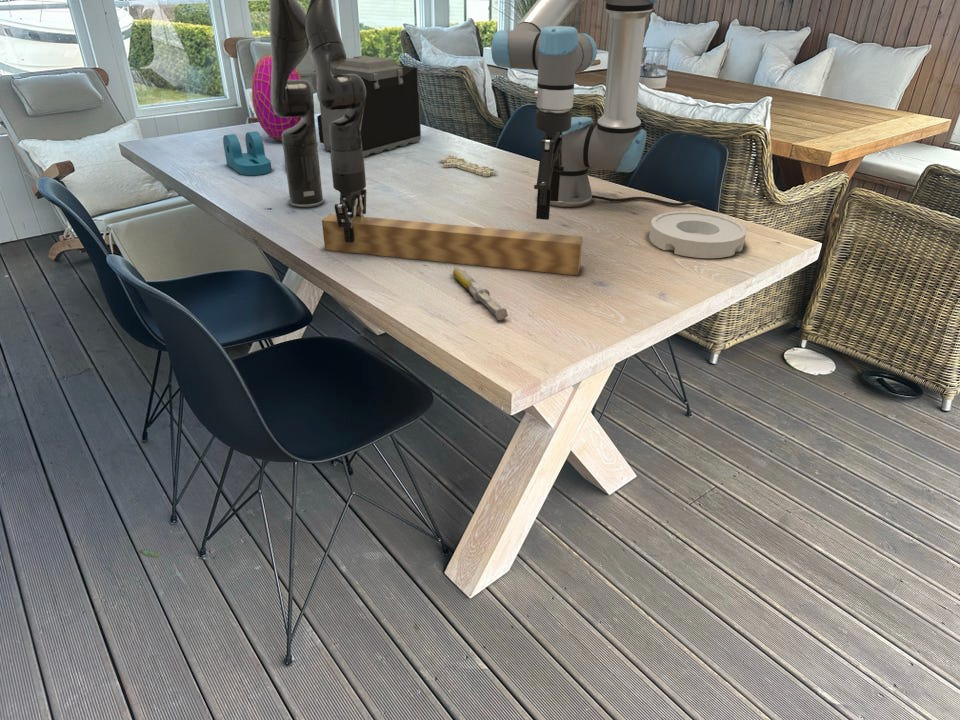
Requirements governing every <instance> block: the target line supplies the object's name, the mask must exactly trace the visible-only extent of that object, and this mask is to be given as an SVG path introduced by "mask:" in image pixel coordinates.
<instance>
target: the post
mask: <svg viewBox="0 0 960 720" xmlns="http://www.w3.org/2000/svg"><path fill="white" fill-rule="evenodd" d="M341 220H342V219H341ZM349 222H350V218H349ZM321 225H322V226H321V227H322V236H323V245H324V250H325V251H330V252H331V251H332V252H342V253H352V254H360V255H361V254H362V255H372V256H380V257H381V256H382V257H392V258H401V259H412V260H419V261H420V260H422V261H431V262H440V263H451V264H461V265H471V266H480V267H489V268H500V269H508V270H509V269H510V270H519V271H530V272H541V273H549V274H559V275H569V276H579V272H580V270H581V263H582V252H583V241H584V237H583V235H582V236H580V235H570V234H560V233H559V234H558V233H547V232H538V231H525V230H516V229H515V230H514V229H505V228H504V229H503V228H492V227H481V226H471V225H459V224H458V225H457V224H447V223H439V222H438V223H436V222H425V221H416V220H415V221H414V220H401V219H392V218H382V217H381V218H380V217H370V216H369V217H368V216H364V217H360V216H356V217H355V218H354V220H353V228H354V242H353V243H348V242H345V237H344V228H343V227H339V226H338V222H337V217H336V213H329V214H328V215H326V216H325V217H324V218H323V219H321Z"/></svg>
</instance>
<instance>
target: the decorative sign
mask: <svg viewBox="0 0 960 720" xmlns="http://www.w3.org/2000/svg"><path fill="white" fill-rule="evenodd" d="M440 163H443V167H444V168H451V167H452V168H457V169H461V170H464V171H467V172H470V173H475V174H476V175H480V176H483V177H491V176H496V171H495V168H494V167H489V166H487V165H484V166H483V165H481V166H479V164H478V163H473V162H465V158H464V157H459V158H458V156H457V155H451V154H449V155H448V157H442V158H441V159H440Z"/></svg>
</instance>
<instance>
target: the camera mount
mask: <svg viewBox="0 0 960 720" xmlns="http://www.w3.org/2000/svg"><path fill="white" fill-rule="evenodd" d="M222 140H223V141H222V143H223V149H224V150H223V151H224V156H225V161H226V165H227V166H228V167H230V168H231V169H232V170H234V171H236V172H237V173H238V174H239V175H244V176H260V175H265V174H268V173H271V172H272V164H271V159H270V158H268V157H267V156H266V153H265V145H264V141H263V139H262V136H261V134H260V132H258V131H247V132H246V133H245V146H246V152H243V151H242V150H243V149H242V146H241V142H240V140H239V138H238V135H236V134H235V133H231V134H224V135H223V138H222Z"/></svg>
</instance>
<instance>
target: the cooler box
mask: <svg viewBox="0 0 960 720" xmlns="http://www.w3.org/2000/svg"><path fill="white" fill-rule="evenodd" d="M331 73H332V75H343V74H356V75H358V76H359V77H360V78H361V79H362V80H363V82H364V84H365V87H366V102H365V107H364V112H363V118H362V124H361V140H362V150H363V155H364V158H366V157H367V158H368V157H369V155H371V154H375V155H377V154H381V153H382V152H383V151H391V150H395V149H396V148H397V147H405V146H407V145H408V144H416V143H418V142H419V141H421V137H422V128H421V97H420V92H419V91H420V89H419V68H418V67H417V66H408V65H400V64H396V62H395V60H394V59H393V58H385V57H377V56H367V55H356V56H353V57H350V58H349V57H346V61H345V62H344V64H342V65H341V66H339V67H337V68H334V69H332V70H331ZM310 79H311V87H313V88H312V89H313V90H314V91H315V93H316V94H317V88H316V70H314V71H313V70H312V71H310ZM319 110H320V111H319V112H320V114H319V115H317V116H316V119H317V128H318V138H319V143H320V144H323V146H324V149H325V150H327V151H330V152H331V146H330V135H329V125H330V123H331V122H333V121H335V120H337V119H340V118H341V117H343V116H344V114H345V111H346V109H341V110H332V111H331V110H327V109H325V108H324V107H323V106H322V105H321V104H320V103H319Z"/></svg>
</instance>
